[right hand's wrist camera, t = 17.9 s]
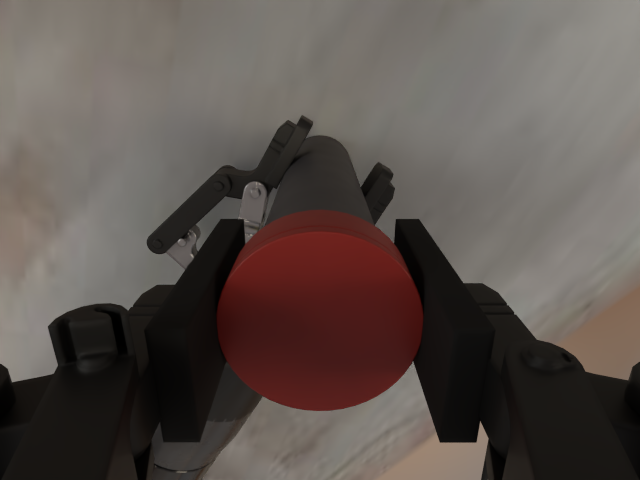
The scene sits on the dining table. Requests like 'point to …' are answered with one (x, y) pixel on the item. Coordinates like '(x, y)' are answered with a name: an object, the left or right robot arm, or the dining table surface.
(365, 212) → the dark grey cylinder
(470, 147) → the dining table surface
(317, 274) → the lid
